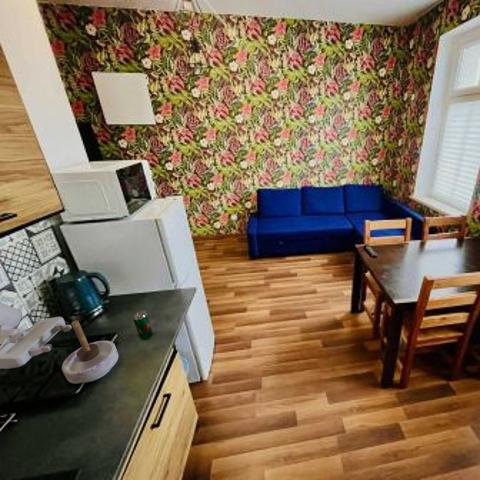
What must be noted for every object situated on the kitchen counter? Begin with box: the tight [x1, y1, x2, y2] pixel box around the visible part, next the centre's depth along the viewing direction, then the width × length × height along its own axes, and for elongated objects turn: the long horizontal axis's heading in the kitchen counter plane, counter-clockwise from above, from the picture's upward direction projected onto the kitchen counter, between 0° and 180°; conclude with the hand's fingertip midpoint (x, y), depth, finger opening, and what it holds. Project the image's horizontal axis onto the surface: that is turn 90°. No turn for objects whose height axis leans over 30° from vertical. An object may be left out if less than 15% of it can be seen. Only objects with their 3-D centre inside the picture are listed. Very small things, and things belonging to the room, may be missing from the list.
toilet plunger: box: [71, 319, 100, 362], centre depth 93 cm, size 6×6×15 cm
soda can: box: [132, 310, 154, 341], centre depth 114 cm, size 5×5×12 cm
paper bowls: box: [61, 340, 119, 385], centre depth 98 cm, size 15×15×8 cm
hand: (60, 337), depth 91 cm, fingers open, 8 cm apart
